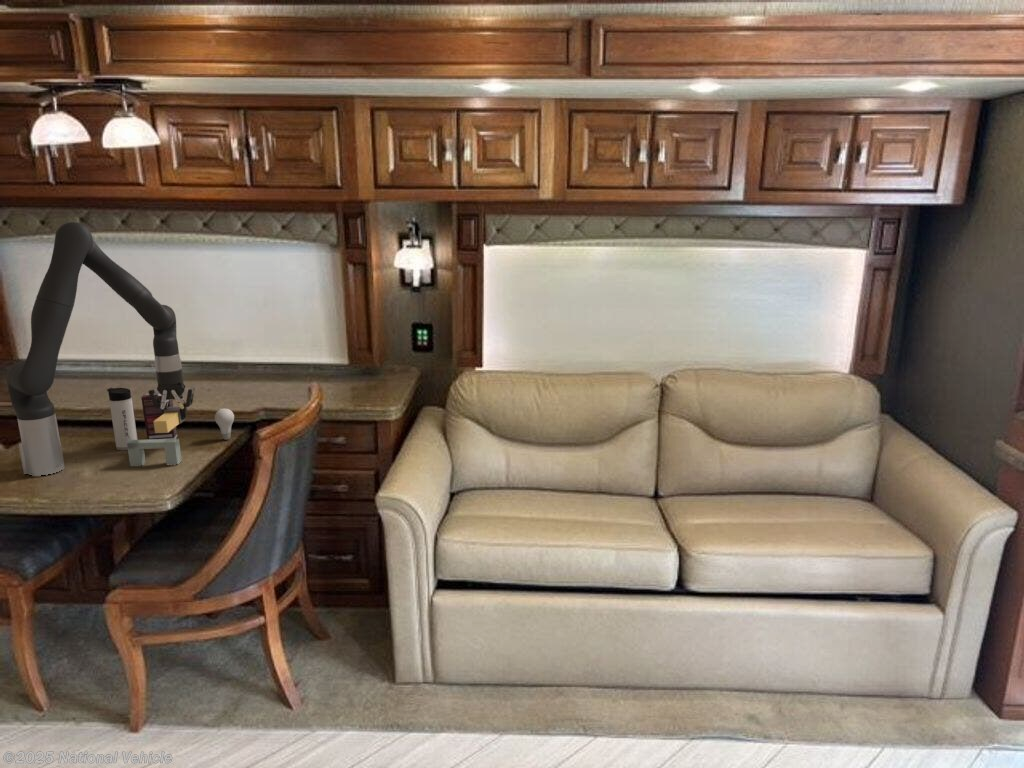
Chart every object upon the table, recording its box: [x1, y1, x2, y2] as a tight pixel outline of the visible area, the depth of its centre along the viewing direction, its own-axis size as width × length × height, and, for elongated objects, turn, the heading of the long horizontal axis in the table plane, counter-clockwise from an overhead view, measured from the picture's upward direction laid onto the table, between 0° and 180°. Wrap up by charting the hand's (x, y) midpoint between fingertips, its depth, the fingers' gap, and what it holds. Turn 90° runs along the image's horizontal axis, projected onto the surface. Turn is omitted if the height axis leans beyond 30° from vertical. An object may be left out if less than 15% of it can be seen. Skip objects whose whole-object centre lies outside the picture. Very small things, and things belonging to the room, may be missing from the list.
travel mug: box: [106, 387, 138, 451], centre depth 220 cm, size 6×7×20 cm
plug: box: [153, 405, 186, 433], centre depth 216 cm, size 5×14×5 cm, turn 4°
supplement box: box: [140, 392, 178, 440], centre depth 229 cm, size 9×5×16 cm, turn 105°
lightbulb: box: [214, 408, 235, 441], centre depth 229 cm, size 6×6×11 cm
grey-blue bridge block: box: [127, 438, 182, 467], centre depth 207 cm, size 14×3×8 cm, turn 94°
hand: (175, 418), depth 221 cm, fingers closed on plug, 4 cm apart
